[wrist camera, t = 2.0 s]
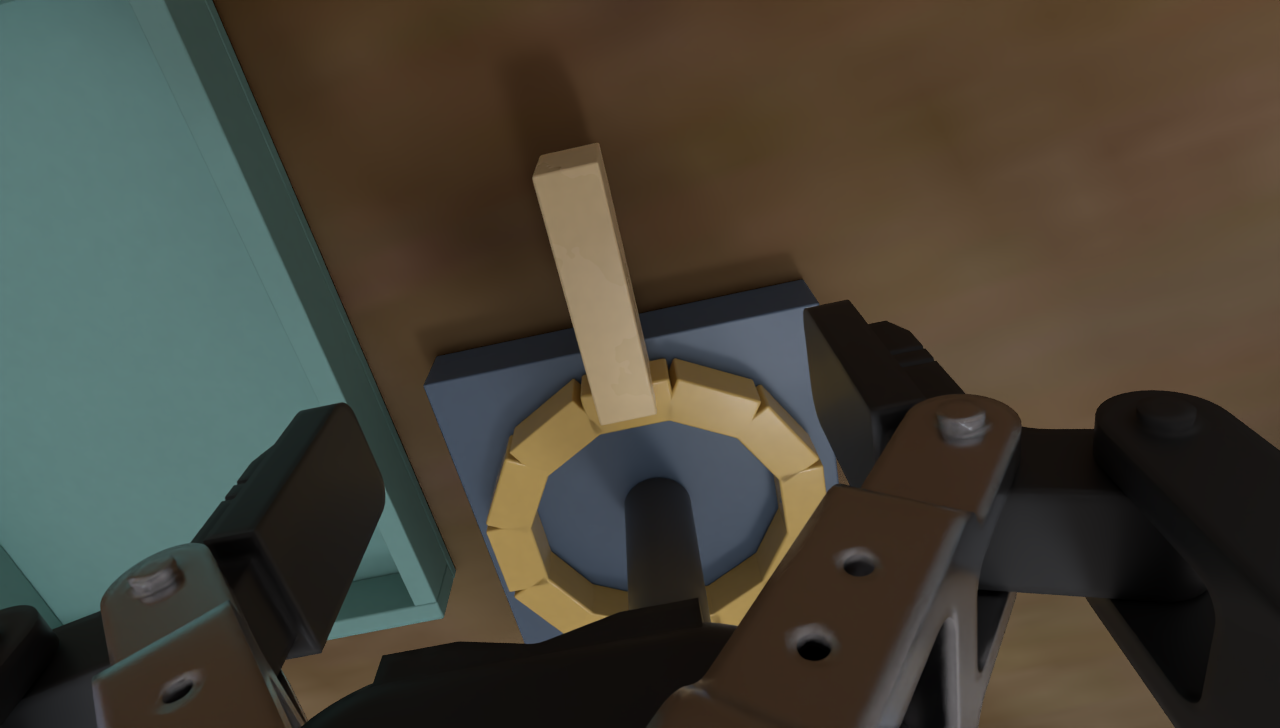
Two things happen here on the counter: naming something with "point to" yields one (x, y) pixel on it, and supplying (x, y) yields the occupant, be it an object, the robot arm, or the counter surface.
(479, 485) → the key stand
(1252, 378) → the counter surface
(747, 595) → the ring
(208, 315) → the key tray
